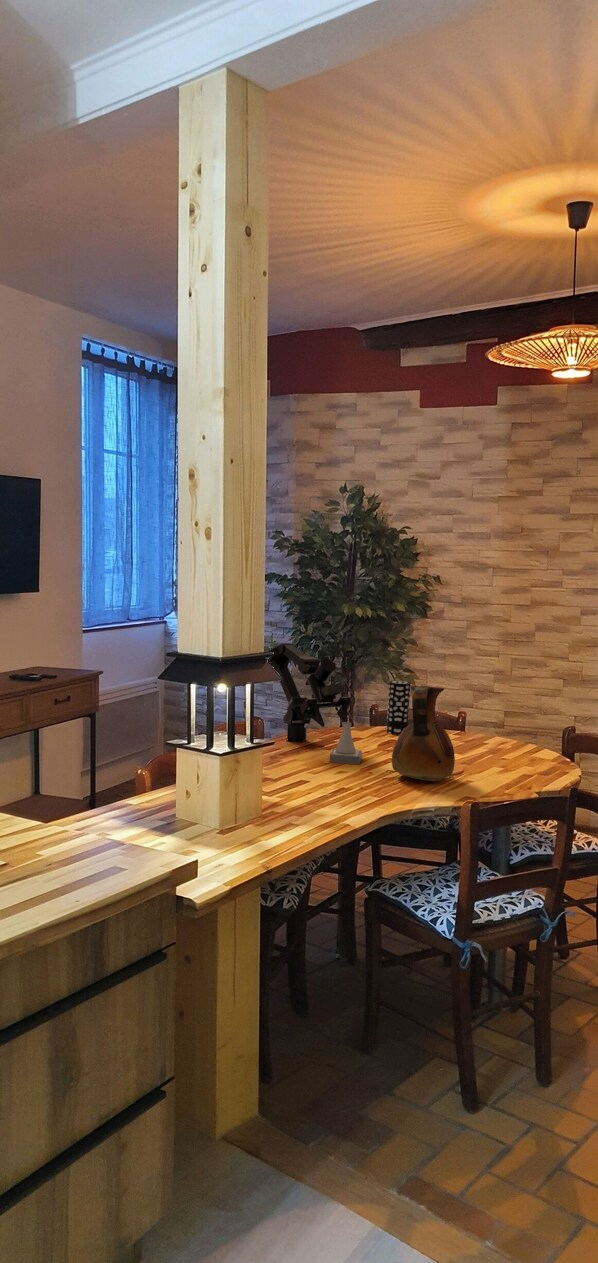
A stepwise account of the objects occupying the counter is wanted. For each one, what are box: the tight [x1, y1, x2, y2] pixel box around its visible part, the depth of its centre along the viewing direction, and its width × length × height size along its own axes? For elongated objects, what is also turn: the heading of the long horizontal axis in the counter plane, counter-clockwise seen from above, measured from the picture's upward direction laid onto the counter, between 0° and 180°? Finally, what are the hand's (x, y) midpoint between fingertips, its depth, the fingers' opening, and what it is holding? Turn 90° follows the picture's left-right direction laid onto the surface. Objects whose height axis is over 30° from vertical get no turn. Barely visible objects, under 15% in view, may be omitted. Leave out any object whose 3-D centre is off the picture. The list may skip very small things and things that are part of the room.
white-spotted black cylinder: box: [385, 680, 412, 736], centre depth 363 cm, size 8×8×20 cm
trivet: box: [329, 748, 363, 765], centre depth 314 cm, size 10×10×3 cm
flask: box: [335, 721, 357, 754], centre depth 313 cm, size 7×7×10 cm
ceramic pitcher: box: [391, 684, 456, 782], centre depth 291 cm, size 20×20×30 cm
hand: (335, 725), depth 319 cm, fingers open, 9 cm apart
